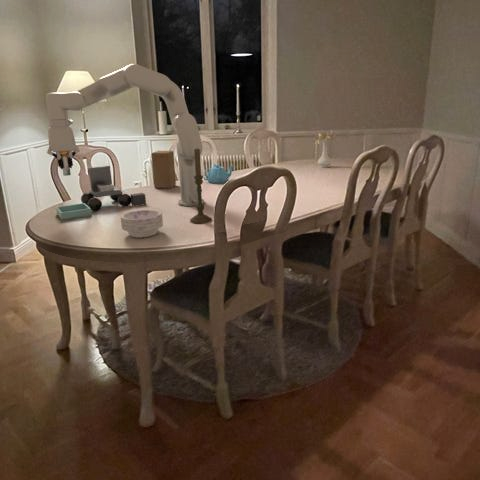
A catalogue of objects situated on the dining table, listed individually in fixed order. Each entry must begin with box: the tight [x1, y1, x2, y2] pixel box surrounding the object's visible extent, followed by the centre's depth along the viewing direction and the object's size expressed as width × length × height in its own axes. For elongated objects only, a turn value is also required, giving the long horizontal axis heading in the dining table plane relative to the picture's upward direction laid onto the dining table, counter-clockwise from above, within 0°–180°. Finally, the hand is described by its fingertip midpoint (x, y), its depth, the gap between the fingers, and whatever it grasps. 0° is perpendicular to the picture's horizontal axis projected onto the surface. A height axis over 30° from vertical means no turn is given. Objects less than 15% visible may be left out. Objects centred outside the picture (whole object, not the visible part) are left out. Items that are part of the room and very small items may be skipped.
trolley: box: [80, 165, 132, 212], centre depth 203 cm, size 15×20×18 cm
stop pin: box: [60, 151, 72, 177], centre depth 183 cm, size 4×4×10 cm
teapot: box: [203, 162, 235, 184], centre depth 254 cm, size 15×15×10 cm
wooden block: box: [150, 150, 177, 189], centre depth 242 cm, size 10×10×20 cm
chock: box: [129, 192, 147, 207], centre depth 207 cm, size 4×6×5 cm, turn 122°
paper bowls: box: [120, 209, 164, 239], centre depth 161 cm, size 15×15×8 cm
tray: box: [55, 203, 93, 221], centre depth 190 cm, size 12×12×4 cm
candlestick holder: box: [189, 147, 213, 225], centre depth 173 cm, size 9×9×30 cm
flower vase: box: [311, 129, 338, 169], centre depth 291 cm, size 13×18×25 cm
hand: (66, 167), depth 184 cm, fingers closed on stop pin, 3 cm apart
